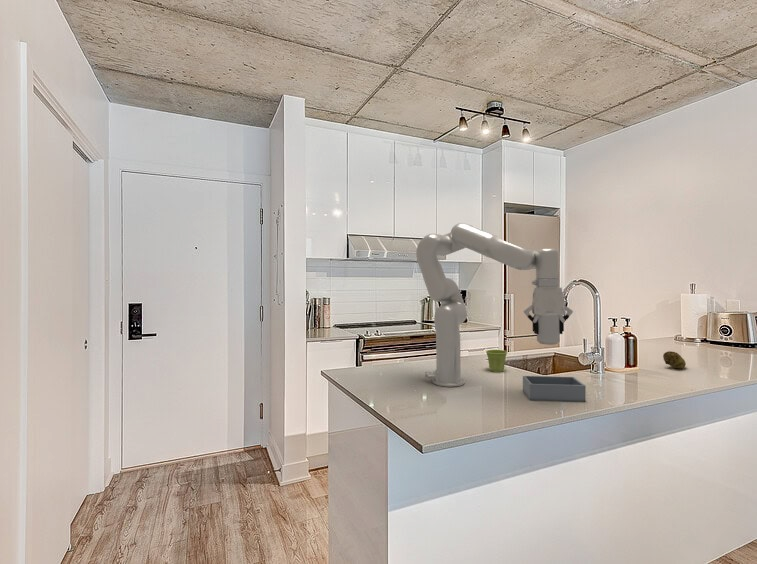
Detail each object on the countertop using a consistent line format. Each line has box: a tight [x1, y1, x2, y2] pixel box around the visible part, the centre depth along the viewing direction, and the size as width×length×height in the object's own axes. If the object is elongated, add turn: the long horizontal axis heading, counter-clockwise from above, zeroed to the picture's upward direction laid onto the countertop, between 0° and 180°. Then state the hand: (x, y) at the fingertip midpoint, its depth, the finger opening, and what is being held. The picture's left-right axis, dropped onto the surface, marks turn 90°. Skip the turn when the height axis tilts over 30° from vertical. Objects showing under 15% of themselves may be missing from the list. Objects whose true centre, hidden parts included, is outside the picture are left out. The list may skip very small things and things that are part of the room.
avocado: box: [662, 350, 687, 370], centre depth 188 cm, size 8×13×8 cm, turn 108°
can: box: [536, 311, 561, 346], centre depth 148 cm, size 8×8×12 cm
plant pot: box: [485, 349, 508, 373], centre depth 187 cm, size 9×9×9 cm
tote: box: [522, 375, 587, 403], centre depth 148 cm, size 18×12×6 cm, turn 82°
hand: (548, 333), depth 148 cm, fingers closed on can, 7 cm apart
